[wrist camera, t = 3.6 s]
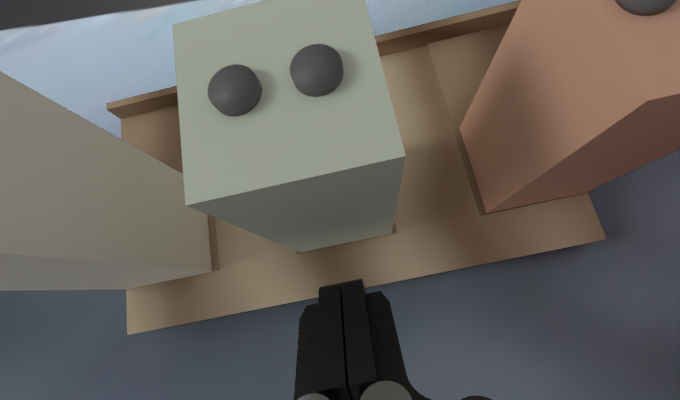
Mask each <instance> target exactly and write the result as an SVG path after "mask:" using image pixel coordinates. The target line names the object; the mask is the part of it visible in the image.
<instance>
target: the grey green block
mask: <svg viewBox="0 0 680 400" xmlns="http://www.w3.org/2000/svg"><path fill="white" fill-rule="evenodd" d="M173 39H174V53H175V67H176V81H177V95H178V109H179V123H180V137H181V151H182V165H183V179H184V193H185V205H186V206H188V207H190V208H193V209H195V210H198V211H200V212H203V213H205V214H207V215H210V216H212V217H215V218H217V219H220V220H222V221H224V222H227V223H229V224H232V225H234V226H237V227H239V228H242V229H244V230H246V231H249V232H251V233H254V234H256V235H259V236H261V237H263V238H266V239H268V240H271V241H273V242H276V243H278V244H280V245H283V246H285V247H288V248H290V249H293V250H295V251H298V252H300V253H301V252H306V251H311V250H316V249H320V248H325V247H330V246H335V245H340V244H344V243H349V242H354V241H359V240H363V239H368V238H373V237H378V236H383V235H387V234H392V229H393V223H394V218H395V213H396V207H397V202H398V196H399V191H400V185H401V180H402V174H403V169H404V163H405V158H406V155H405V151H404V147H403V143H402V140H401V136H400V132H399V128H398V124H397V121H396V117H395V113H394V109H393V105H392V102H391V98H390V94H389V90H388V86H387V83H386V79H385V75H384V71H383V67H382V64H381V60H380V56H379V52H378V48H377V45H376V41H375V37H374V33H373V29H372V26H371V22H370V18H369V14H368V10H367V7H366V3H365V0H265V1H262V2H258V3H254V4H250V5H246V6H242V7H239V8H235V9H231V10H227V11H223V12H220V13H216V14H212V15H208V16H204V17H201V18H197V19H193V20H189V21H185V22H182V23H178V24H174V25H173Z"/></svg>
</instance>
